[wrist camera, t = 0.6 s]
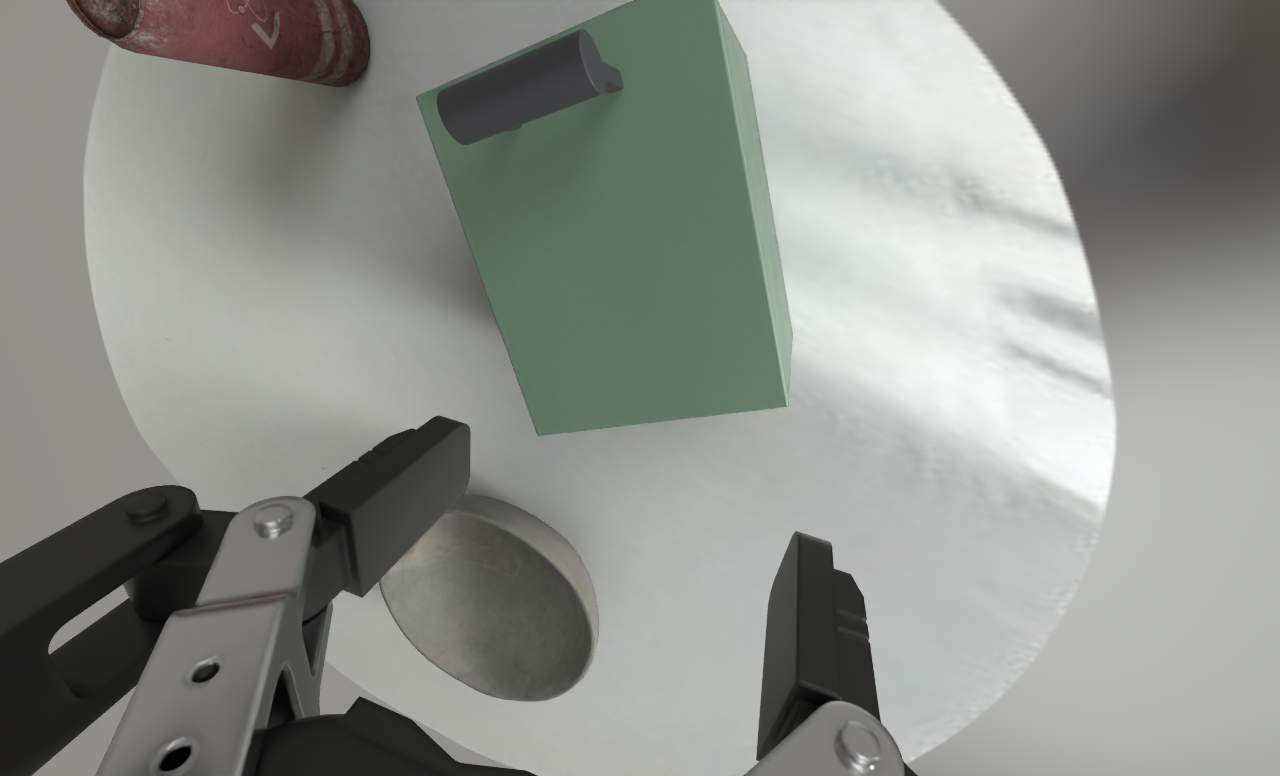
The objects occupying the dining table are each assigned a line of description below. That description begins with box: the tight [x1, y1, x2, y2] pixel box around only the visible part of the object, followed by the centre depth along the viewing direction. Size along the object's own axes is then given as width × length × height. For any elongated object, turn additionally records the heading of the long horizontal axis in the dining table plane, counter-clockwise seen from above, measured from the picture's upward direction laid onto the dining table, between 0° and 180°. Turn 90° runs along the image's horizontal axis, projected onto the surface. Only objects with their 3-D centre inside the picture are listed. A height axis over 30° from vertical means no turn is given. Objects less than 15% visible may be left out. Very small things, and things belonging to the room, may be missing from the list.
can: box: [66, 0, 370, 87], centre depth 29 cm, size 6×6×14 cm
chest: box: [718, 2, 793, 398], centre depth 29 cm, size 17×14×11 cm
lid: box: [416, 0, 788, 436], centre depth 22 cm, size 18×14×5 cm
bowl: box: [379, 494, 599, 701], centre depth 47 cm, size 21×21×8 cm
